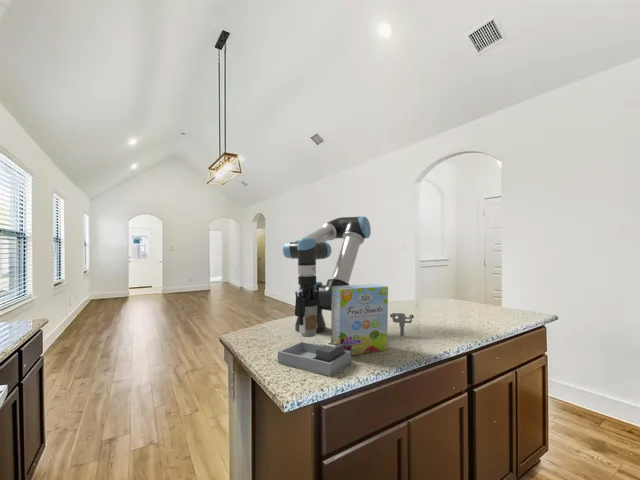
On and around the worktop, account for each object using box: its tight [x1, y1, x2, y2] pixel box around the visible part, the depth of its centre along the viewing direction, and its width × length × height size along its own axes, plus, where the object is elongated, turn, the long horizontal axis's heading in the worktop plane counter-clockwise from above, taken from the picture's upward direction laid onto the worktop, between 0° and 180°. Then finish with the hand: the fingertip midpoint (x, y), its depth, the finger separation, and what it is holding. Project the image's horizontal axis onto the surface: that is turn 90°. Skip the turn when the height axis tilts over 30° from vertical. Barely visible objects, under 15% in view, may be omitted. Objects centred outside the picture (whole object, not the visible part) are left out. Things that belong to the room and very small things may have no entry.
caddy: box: [277, 341, 352, 377], centre depth 115 cm, size 22×14×4 cm, turn 57°
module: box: [316, 341, 344, 363], centre depth 111 cm, size 5×10×7 cm, turn 147°
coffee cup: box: [300, 298, 318, 338], centre depth 134 cm, size 8×8×15 cm
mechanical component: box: [389, 312, 414, 337], centre depth 147 cm, size 3×10×10 cm, turn 79°
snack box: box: [330, 283, 389, 356], centre depth 127 cm, size 22×9×26 cm, turn 113°
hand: (308, 329), depth 134 cm, fingers closed on coffee cup, 7 cm apart
